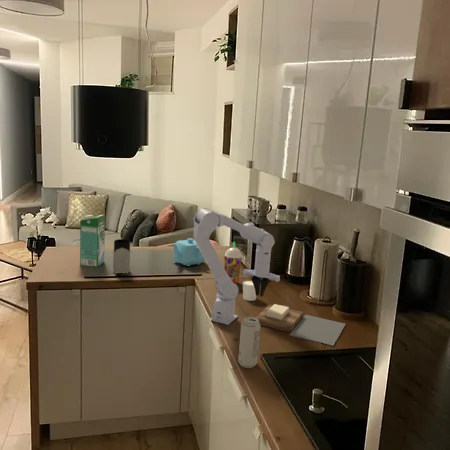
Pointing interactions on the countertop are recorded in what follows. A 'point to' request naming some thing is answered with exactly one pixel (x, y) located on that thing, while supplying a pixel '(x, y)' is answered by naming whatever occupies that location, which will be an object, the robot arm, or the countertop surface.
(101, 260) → the milk carton
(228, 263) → the smoothie
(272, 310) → the cream rectangular block
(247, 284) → the white cup
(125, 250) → the holder
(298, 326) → the mat
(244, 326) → the energy drink can
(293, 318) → the wooden cutting board
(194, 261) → the teapot
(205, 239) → the robot arm
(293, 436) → the countertop surface
